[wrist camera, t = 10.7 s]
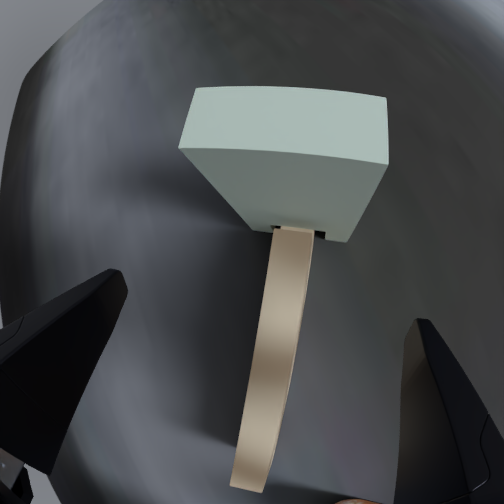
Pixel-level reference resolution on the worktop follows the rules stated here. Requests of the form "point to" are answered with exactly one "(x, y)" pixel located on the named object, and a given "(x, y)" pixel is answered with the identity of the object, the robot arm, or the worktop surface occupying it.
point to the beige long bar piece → (273, 356)
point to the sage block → (290, 154)
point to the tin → (355, 501)
